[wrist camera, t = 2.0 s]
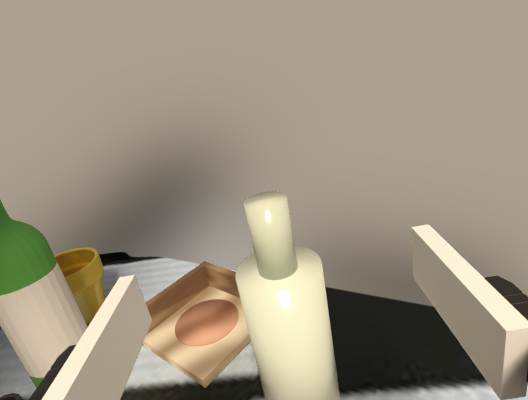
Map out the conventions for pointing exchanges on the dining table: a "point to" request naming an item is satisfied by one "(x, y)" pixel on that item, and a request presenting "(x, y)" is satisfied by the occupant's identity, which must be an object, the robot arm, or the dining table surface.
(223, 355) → the dock
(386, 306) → the dining table surface
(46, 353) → the wine bottle
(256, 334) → the bottle
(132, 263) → the dining table surface
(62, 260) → the plant pot
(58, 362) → the robot arm
